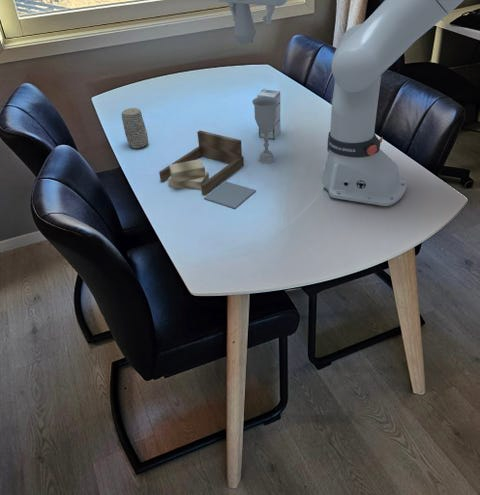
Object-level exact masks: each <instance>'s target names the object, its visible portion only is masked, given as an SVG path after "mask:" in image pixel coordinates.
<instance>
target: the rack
mask: <svg viewBox="0 0 480 495" xmlns="http://www.w3.org/2000/svg"><path fill="white" fill-rule="evenodd" d="M196 133H197V134H196V135H197V140H198V146H197V147H195V148H193V149H192V150H191V151H189V152H188V153H186V154H184V155H183V156H182V157H179V158H178V159H176V160H175V161H174V162H173V163H171V164H176V163H181V162H187V161H192V160H198V159H201V158H205V159H209V160H212V161H216V162H221V163H224V164H227V165H226V166H224V167H223V168H222V169H221V170H219V171H218V172H216V173H215V174H214V175H213V176H211V177H209V179H208V180H207V181H205V182H204V183H203V184H201V188H202V190H201V195H203V196H207V195H209V194H210V193H211V192H212V191H214V190H215V189H216V187H217V188H218V187H219V186H220V185H222V184H223V183H224V182H226V181H227V180H228V179H229V178H230V177H231V176H232V175H234V174H235V173H237V172H238V171H239V170H240V169H242V168H243V167H244V166H245V159H244V156H243V152H242V151H243V150H242V149H243V148H242V139H239V138H233V137H229V136H226V135H225V136H224V135H220V134H216V133H212V132H208V131H203V130H198V131H196ZM158 174H159V178H160V179H159V180H160V182H161V183H164V182H166V181H168V178H169V177H170V176H171V174H170V168H169V165H167V166H166V167H165V168H163V169H161V170H160V171H158Z"/></svg>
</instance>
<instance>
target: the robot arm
mask: <svg viewBox="0 0 480 495" xmlns="http://www.w3.org/2000/svg"><path fill="white" fill-rule="evenodd" d="M217 1H218V2H219V3H228V9H229V10H230V12H231V14H232V20H233V22H235V12H236V3H242V4H249V5H255V6H265V8H266V11H267V12H266V15H264V16H262V20H263V21H262V23H263V24H264V25H270V24H272V17H273V14H274V12H275V10H276V7H281V6H283V5H285V4H287V2H288V0H217ZM464 1H465V0H383V2H382V3H381V4H380V5H379V6H378V7H377V8H376V9H375V10H374V12H372V14H370V16H369V17H368V18H366V20H365V21H363V23H359V24H355V25H353V26H352V27H350V28H348V29H347V30H345V32H344V33H343V34H342V35H341V37H340V40H339V41H338V44H337V46H336V48H335V50H334V51H335V52H334V54H333V57H332V60H331V72H332V73H331V74H332V76H333V79H334V85H333V86H334V87H333V92H332V93H333V94H332V101H331V113H330V114H331V115H330V131H329V132H328V136H327V143H326V144H327V148H326V149H327V157H326V158H327V160H326V163H325V166H324V167H325V168H324V171H323V174H322V177H321V183H322V185H323V187H324V189H325V190H327V191H328V195H329V197H331V198H334V199H338V200H339V199H340V200H346V201H351V202H358V203H364V204H369V205H375V206H376V205H377V206H383V207H388V206H391V205H394V204H395V203H397V202H398V201H400V199H402V197H403V196H404V195H405V193H406V190H407V182H406V180H405V179H404V178H402V177H401V178H400V172H399V166H398V164H397V163H396V162H395V161H394V160H393V159H392V158H390V157H389V155H388V154H386V153H385V152H384V151H383V150H382V149H381V144H382V142H383V136H381V138H378V137H377V135H376V133H375V128H376V127H375V126H376V121H377V120H376V119H377V111H378V102H379V95H380V87H381V79H382V74H384V72H385V71H387V69H389V68H390V67H391V66H392V65H393V64H394V63H395V62H396V61H397V60H398V59H399V58H400V57H401V56H402V55H403V54H404V53H405V52H406V51H407V50H408V49H409V48H410V47H411V46H412V45H413V44H414V43H415V42H416V41H417V40H418V39H419V38H421V37H422V36H424V34H426V33H427V32H428V31H429V30H431V29H432V28H433V27H434V26H435V25H437V24H438V23H439V22H440V21H441V20H443V19H444V18H445V17H446V16H448V15H449V14H450V13H452V11H454V10H455V9H456V8H457V7H458V6H460V5H461V3H463V2H464Z"/></svg>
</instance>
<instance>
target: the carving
mask: <svg viewBox="0 0 480 495" xmlns="http://www.w3.org/2000/svg"><path fill="white" fill-rule="evenodd" d="M121 122H122V125H123V129H124V134H125V138H126V140H127V143H128V145H129V146H130V148H133V149H140V148H145V147H146V146H147V145H148V144H149V136H148V130H147V128H146V124H145V121H144V118H143V115H142V111H141V109H139V108H137V107H131V108H126V109H123V111H122V112H121Z"/></svg>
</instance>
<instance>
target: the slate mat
mask: <svg viewBox="0 0 480 495" xmlns="http://www.w3.org/2000/svg"><path fill="white" fill-rule="evenodd" d="M256 191H257V190H256V189H254V188H250V187H246V186H244V185H240V184H236V183H234V182H233V183H232V182H229V181H223V182H222V183H221V184H219V185H218V186H217V188H216V187H215V188H214V189H213V190H212V191H210V192H209V193H208V194H206V195H205V197H203V199H204V200H206V201H208V202H213V203H215V204H217V205H222V206H224V207H227V208H231V209H232V210H233V209H234V210H236V209H238V208H239V206H241V205H242V204H243V203H245V201H246V200H247V199H249V198H250V197H251V196H252V195H253V194H255V193H256Z"/></svg>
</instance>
